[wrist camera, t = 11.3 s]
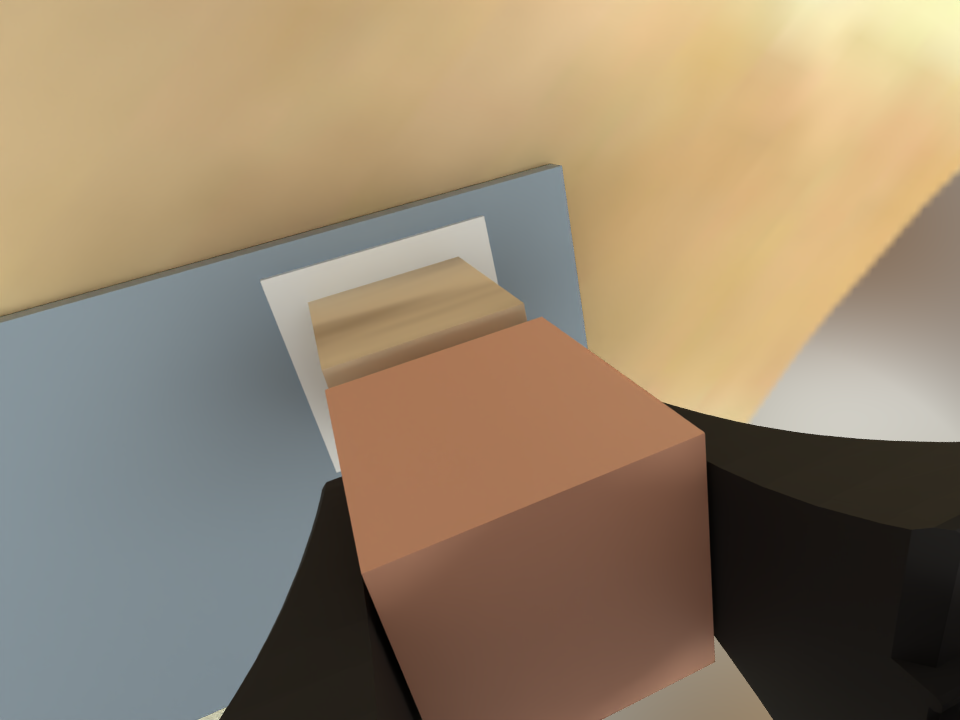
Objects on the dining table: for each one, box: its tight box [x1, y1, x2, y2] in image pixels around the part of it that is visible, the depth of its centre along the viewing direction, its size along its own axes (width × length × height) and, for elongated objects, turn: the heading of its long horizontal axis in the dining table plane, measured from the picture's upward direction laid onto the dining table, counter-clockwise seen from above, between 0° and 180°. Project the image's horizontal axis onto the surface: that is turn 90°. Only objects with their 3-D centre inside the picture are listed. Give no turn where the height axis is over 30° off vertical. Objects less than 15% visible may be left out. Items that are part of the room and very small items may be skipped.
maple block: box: [308, 257, 527, 388], centre depth 15 cm, size 4×4×5 cm
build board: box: [0, 164, 588, 720], centre depth 18 cm, size 15×22×1 cm
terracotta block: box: [325, 317, 715, 720], centre depth 10 cm, size 4×4×5 cm
